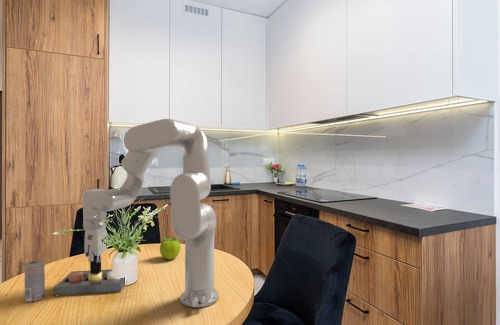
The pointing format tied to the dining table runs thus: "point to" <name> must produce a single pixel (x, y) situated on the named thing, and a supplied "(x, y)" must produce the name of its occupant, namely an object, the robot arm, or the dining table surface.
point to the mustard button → (94, 276)
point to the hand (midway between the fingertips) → (95, 272)
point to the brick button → (76, 277)
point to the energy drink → (34, 280)
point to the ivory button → (111, 275)
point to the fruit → (170, 248)
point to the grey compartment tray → (89, 285)
